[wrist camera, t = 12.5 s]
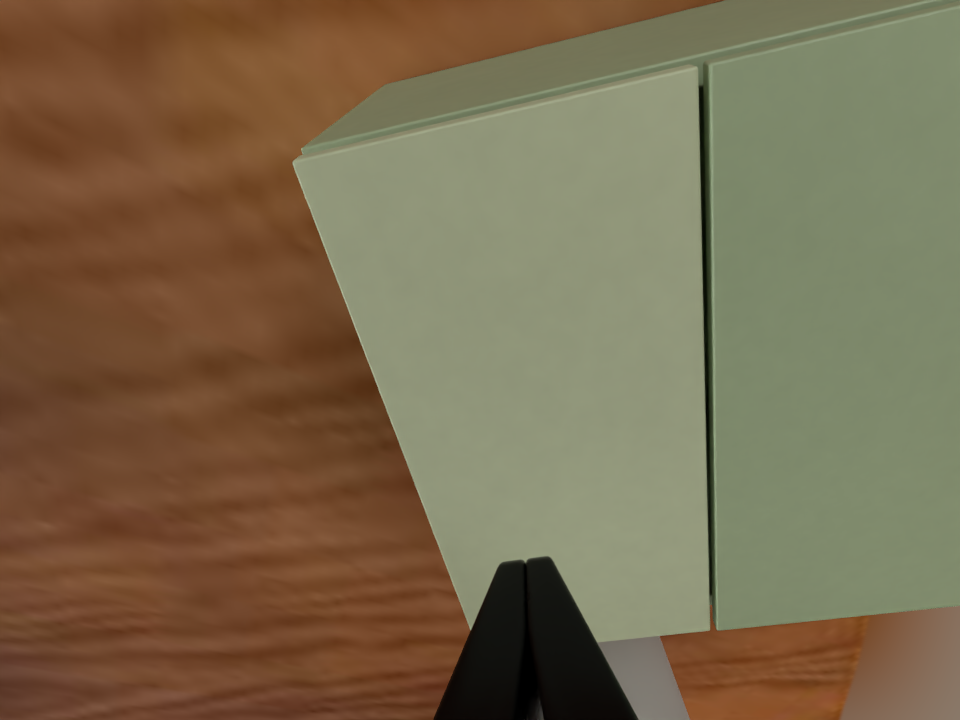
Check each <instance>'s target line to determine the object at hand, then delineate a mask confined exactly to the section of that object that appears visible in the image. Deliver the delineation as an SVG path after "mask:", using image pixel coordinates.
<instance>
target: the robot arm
mask: <svg viewBox="0 0 960 720" xmlns="http://www.w3.org/2000/svg"><path fill="white" fill-rule="evenodd" d="M433 720H639V719H638V717H637V715H636V714H635V712H634V710H633V708H632V706H631V704H630V702H629V701H628V699H627V697H626V695H625V693H624V691H623V689H622V688H621V686H620V684H619V682H618V680H617V678H616V676H615V675H614V673H613V671H612V669H611V667H610V665H609V663H608V662H607V660H606V658H605V656H604V654H603V652H602V650H601V649H600V647H599V645H598V643H597V641H596V639H595V637H594V636H593V634H592V632H591V630H590V628H589V626H588V624H587V623H586V621H585V619H584V617H583V615H582V613H581V611H580V610H579V608H578V606H577V604H576V602H575V600H574V598H573V597H572V595H571V593H570V591H569V589H568V587H567V585H566V584H565V582H564V580H563V578H562V576H561V574H560V572H559V571H558V569H557V567H556V565H555V563H554V561H553V560H552V558H551V557H549V556H542V557H535V558H529V559H528V560H527V561H526V562H525V561H524V560H512V561H505V562H502V563H500V564H499V566H498V568H497V570H496V572H495V574H494V577H493V579H492V582H491V584H490V586H489V589H488V591H487V593H486V596H485V598H484V600H483V603H482V605H481V608H480V610H479V612H478V615H477V617H476V619H475V622H474V624H473V627H472V629H471V631H470V634H469V636H468V638H467V641H466V643H465V645H464V648H463V650H462V653H461V655H460V657H459V660H458V662H457V664H456V667H455V669H454V671H453V674H452V676H451V679H450V681H449V683H448V686H447V688H446V690H445V693H444V695H443V698H442V700H441V702H440V705H439V707H438V709H437V712H436V714H435V716H434V719H433Z"/></svg>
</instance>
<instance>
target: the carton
mask: <svg viewBox="0 0 960 720" xmlns="http://www.w3.org/2000/svg"><path fill="white" fill-rule="evenodd" d="M688 64H690V65H693V66H696V67H697V68H698V87H699V133H700V180H701V227H702V273H703V320H704V366H705V413H706V459H707V506H708V552H709V599H710V605H712V609H713V621H714V624H715V627H716V629H717V630H718V631H719V630H729V629H738V628H748V627H758V626H767V625H777V624H787V623H797V622H806V621H816V620H826V619H836V618H845V617H855V616H865V615H875V614H884V613H894V612H904V611H913V610H923V609H932V608H942V607H952V606H960V0H725V1H721V2H717V3H713V4H709V5H705V6H701V7H697V8H693V9H689V10H685V11H681V12H677V13H672V14H668V15H664V16H660V17H656V18H652V19H648V20H644V21H640V22H636V23H632V24H628V25H624V26H620V27H616V28H612V29H608V30H604V31H600V32H596V33H592V34H588V35H584V36H579V37H575V38H571V39H567V40H563V41H559V42H555V43H551V44H547V45H543V46H539V47H535V48H531V49H527V50H523V51H519V52H515V53H511V54H507V55H503V56H499V57H495V58H491V59H487V60H482V61H478V62H474V63H470V64H466V65H462V66H458V67H454V68H450V69H446V70H442V71H438V72H434V73H430V74H426V75H422V76H418V77H414V78H410V79H406V80H402V81H398V82H394V83H389V84H385V85H384V86H382V87H381V88H380V89H378V90H377V91H376V92H374V93H373V94H372V95H371V96H369V97H368V98H367V99H365V100H364V101H363V102H361V103H360V104H359V105H357V106H356V107H355V108H354V109H352V110H351V111H350V112H348V113H347V114H346V115H344V116H343V117H342V118H341V119H339V120H338V121H337V122H335V123H334V124H333V125H331V126H330V127H329V128H327V129H326V130H325V131H324V132H322V133H321V134H320V135H318V136H317V137H316V138H314V139H313V140H312V141H310V142H309V143H308V144H307V145H305V146H304V147H303V148H302V153H303V155H305V154H309V153H314V152H318V151H322V150H326V149H331V148H335V147H339V146H343V145H348V144H352V143H356V142H360V141H365V140H369V139H373V138H377V137H382V136H386V135H390V134H394V133H399V132H403V131H407V130H411V129H416V128H420V127H424V126H428V125H433V124H437V123H441V122H445V121H450V120H454V119H458V118H462V117H467V116H471V115H475V114H479V113H484V112H488V111H492V110H496V109H501V108H505V107H509V106H513V105H518V104H522V103H526V102H530V101H535V100H539V99H543V98H547V97H552V96H556V95H560V94H564V93H569V92H573V91H577V90H581V89H586V88H590V87H594V86H598V85H603V84H607V83H611V82H615V81H620V80H624V79H628V78H632V77H637V76H641V75H645V74H649V73H654V72H658V71H662V70H666V69H671V68H675V67H679V66H683V65H688Z"/></svg>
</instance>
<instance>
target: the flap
mask: <svg viewBox="0 0 960 720" xmlns="http://www.w3.org/2000/svg"><path fill="white" fill-rule="evenodd" d="M293 166H294V169H295V172H296V174H297V177H298V179H299V182H300V185H301V187H302V190H303V193H304V195H305V198H306V200H307V203H308V206H309V208H310V211H311V214H312V216H313V219H314V221H315V224H316V227H317V229H318V232H319V234H320V237H321V240H322V242H323V245H324V248H325V250H326V253H327V255H328V258H329V261H330V263H331V266H332V268H333V271H334V274H335V276H336V279H337V282H338V284H339V287H340V289H341V292H342V295H343V297H344V300H345V303H346V305H347V308H348V310H349V313H350V316H351V318H352V321H353V323H354V326H355V329H356V331H357V334H358V337H359V339H360V342H361V344H362V347H363V350H364V352H365V355H366V357H367V360H368V363H369V365H370V368H371V371H372V373H373V376H374V378H375V381H376V384H377V386H378V389H379V392H380V394H381V397H382V399H383V402H384V405H385V407H386V410H387V412H388V415H389V418H390V420H391V423H392V426H393V428H394V431H395V433H396V436H397V439H398V441H399V444H400V446H401V449H402V452H403V454H404V457H405V460H406V462H407V465H408V467H409V470H410V473H411V475H412V478H413V481H414V483H415V486H416V488H417V491H418V494H419V496H420V499H421V501H422V504H423V507H424V509H425V512H426V515H427V517H428V520H429V522H430V525H431V528H432V530H433V533H434V535H435V538H436V541H437V543H438V546H439V549H440V551H441V554H442V556H443V559H444V562H445V564H446V567H447V570H448V572H449V575H450V577H451V580H452V583H453V585H454V588H455V590H456V593H457V596H458V598H459V601H460V604H461V606H462V609H463V611H464V614H465V617H466V619H467V622H468V624H469V627H470V630H471V629H472V627H473V624H474V622H475V619H476V617H477V615H478V612H479V610H480V608H481V605H482V603H483V600H484V598H485V596H486V593H487V591H488V589H489V586H490V584H491V582H492V579H493V577H494V574H495V572H496V570H497V568H498V566H499V564H500V563H502V562H505V561H512V560H524V561H525V562H526V561H527V560H528V559H529V558H535V557H542V556H549V557H551V558H552V560H553V561H554V563H555V565H556V567H557V569H558V571H559V572H560V574H561V576H562V578H563V580H564V582H565V584H566V585H567V587H568V589H569V591H570V593H571V595H572V597H573V598H574V600H575V602H576V604H577V606H578V608H579V610H580V611H581V613H582V615H583V617H584V619H585V621H586V623H587V624H588V626H589V628H590V630H591V632H592V634H593V636H594V637H595V639H596V641H597V642H607V641H616V640H626V639H635V638H644V637H654V636H663V635H672V634H682V633H691V632H700V631H709V630H710V599H709V552H708V506H707V459H706V413H705V366H704V320H703V273H702V227H701V180H700V133H699V87H698V68H697V67H696V66H693V65H690V64H688V65H683V66H679V67H675V68H671V69H666V70H662V71H658V72H654V73H649V74H645V75H641V76H637V77H632V78H628V79H624V80H620V81H615V82H611V83H607V84H603V85H598V86H594V87H590V88H586V89H581V90H577V91H573V92H569V93H564V94H560V95H556V96H552V97H547V98H543V99H539V100H535V101H530V102H526V103H522V104H518V105H513V106H509V107H505V108H501V109H496V110H492V111H488V112H484V113H479V114H475V115H471V116H467V117H462V118H458V119H454V120H450V121H445V122H441V123H437V124H433V125H428V126H424V127H420V128H416V129H411V130H407V131H403V132H399V133H394V134H390V135H386V136H382V137H377V138H373V139H369V140H365V141H360V142H356V143H352V144H348V145H343V146H339V147H335V148H331V149H326V150H322V151H318V152H314V153H309V154H305V155H301V156H299V157H298V158H296V159H295V160H294V161H293Z"/></svg>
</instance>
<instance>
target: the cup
mask: <svg viewBox="0 0 960 720" xmlns="http://www.w3.org/2000/svg"><path fill="white" fill-rule="evenodd" d="M597 643H598V645H599V647H600V649H601V650H602V652H603V654H604V656H605V658H606V660H607V662H608V663H609V665H610V667H611V669H612V671H613V673H614V675H615V676H616V678H617V680H618V682H619V684H620V686H621V688H622V689H623V691H624V693H625V695H626V697H627V699H628V701H629V702H630V704H631V706H632V708H633V710H634V712H635V714H636V715H637V717H638V719H639V720H690V719H689V716H688V713H687V710H686V708H685V705H684V702H683V699H682V697H681V694H680V691H679V689H678V686H677V683H676V680H675V678H674V675H673V672H672V669H671V667H670V664H669V661H668V658H667V656H666V653H665V650H664V647H663V645H662V642H661V639H660V637H659V636H654V637H644V638H635V639H626V640H616V641H607V642H597Z"/></svg>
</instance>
